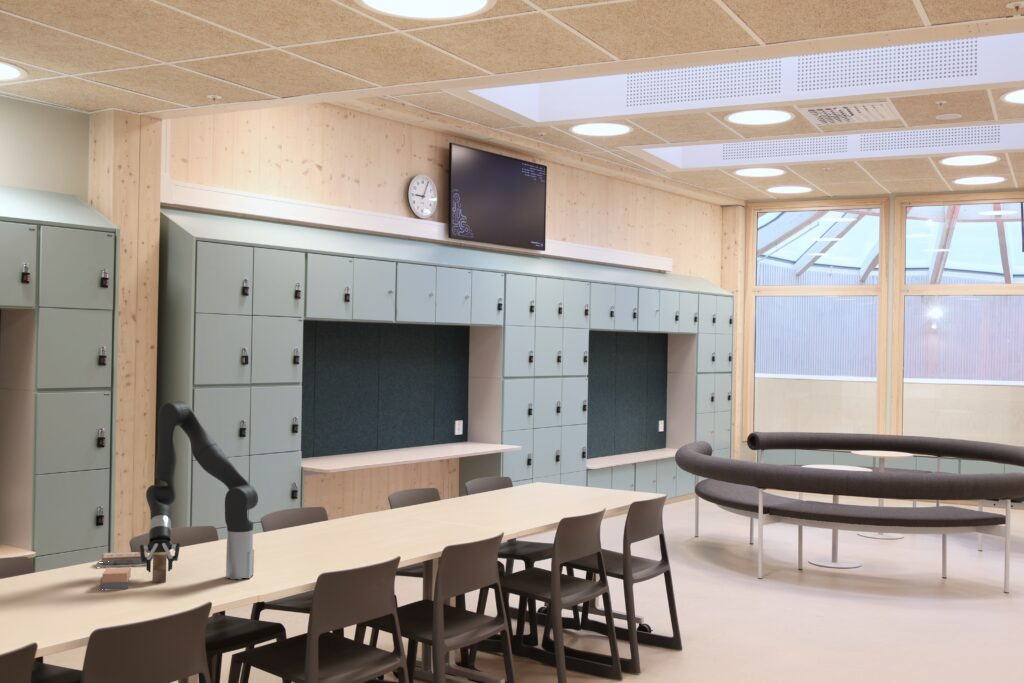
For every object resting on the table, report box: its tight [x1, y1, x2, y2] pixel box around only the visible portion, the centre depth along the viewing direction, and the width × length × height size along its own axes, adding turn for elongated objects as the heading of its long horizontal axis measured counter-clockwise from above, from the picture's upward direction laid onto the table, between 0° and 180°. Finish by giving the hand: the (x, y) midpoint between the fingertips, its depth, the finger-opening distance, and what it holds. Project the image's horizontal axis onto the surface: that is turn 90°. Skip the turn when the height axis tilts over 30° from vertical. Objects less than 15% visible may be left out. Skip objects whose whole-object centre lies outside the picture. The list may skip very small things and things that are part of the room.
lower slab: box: [99, 577, 130, 591], centre depth 338 cm, size 9×9×3 cm
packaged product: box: [95, 551, 149, 569], centre depth 372 cm, size 18×5×10 cm
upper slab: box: [101, 567, 132, 583], centre depth 338 cm, size 8×8×3 cm
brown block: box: [152, 552, 167, 584], centre depth 347 cm, size 4×4×10 cm
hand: (159, 570), depth 345 cm, fingers open, 6 cm apart
